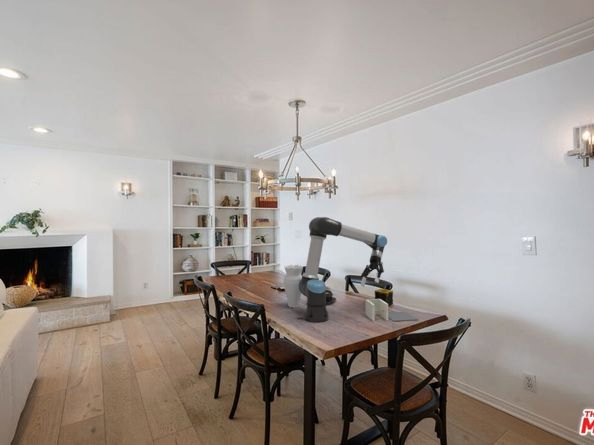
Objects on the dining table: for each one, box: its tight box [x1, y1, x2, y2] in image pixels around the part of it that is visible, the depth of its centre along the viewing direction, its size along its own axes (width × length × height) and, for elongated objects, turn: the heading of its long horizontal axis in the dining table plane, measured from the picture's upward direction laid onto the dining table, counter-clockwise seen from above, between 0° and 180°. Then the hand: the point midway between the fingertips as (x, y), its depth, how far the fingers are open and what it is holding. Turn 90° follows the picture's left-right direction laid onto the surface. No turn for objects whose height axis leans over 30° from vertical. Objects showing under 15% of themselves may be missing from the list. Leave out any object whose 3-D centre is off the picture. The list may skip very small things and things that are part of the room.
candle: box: [374, 288, 394, 307], centre depth 219 cm, size 10×10×10 cm
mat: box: [388, 311, 419, 323], centre depth 190 cm, size 16×16×1 cm
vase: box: [283, 264, 304, 309], centre depth 215 cm, size 15×15×29 cm
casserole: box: [326, 289, 337, 305], centre depth 224 cm, size 25×19×8 cm
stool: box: [364, 298, 389, 322], centre depth 189 cm, size 10×12×10 cm
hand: (369, 283), depth 200 cm, fingers open, 13 cm apart
